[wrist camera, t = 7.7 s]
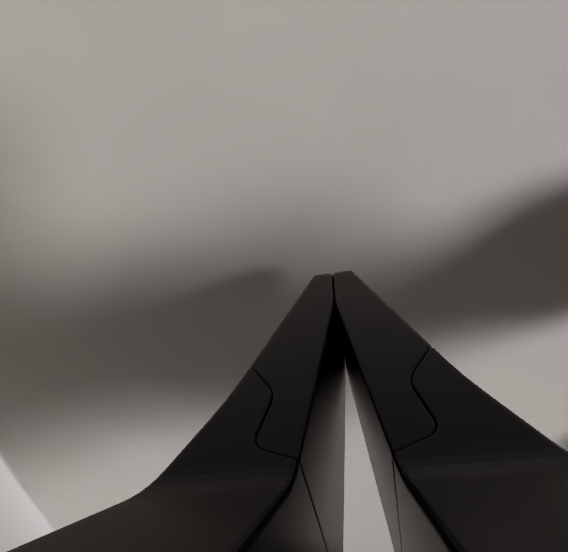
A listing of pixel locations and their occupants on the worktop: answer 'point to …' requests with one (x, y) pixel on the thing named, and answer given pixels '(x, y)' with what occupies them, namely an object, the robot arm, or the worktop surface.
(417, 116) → the worktop surface
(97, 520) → the robot arm
